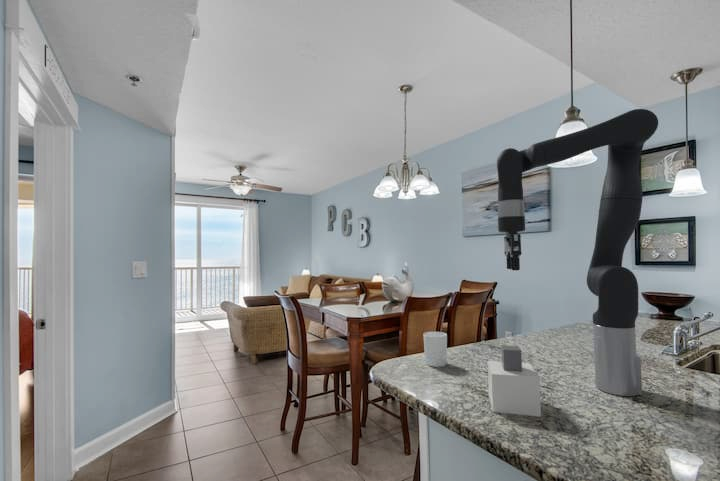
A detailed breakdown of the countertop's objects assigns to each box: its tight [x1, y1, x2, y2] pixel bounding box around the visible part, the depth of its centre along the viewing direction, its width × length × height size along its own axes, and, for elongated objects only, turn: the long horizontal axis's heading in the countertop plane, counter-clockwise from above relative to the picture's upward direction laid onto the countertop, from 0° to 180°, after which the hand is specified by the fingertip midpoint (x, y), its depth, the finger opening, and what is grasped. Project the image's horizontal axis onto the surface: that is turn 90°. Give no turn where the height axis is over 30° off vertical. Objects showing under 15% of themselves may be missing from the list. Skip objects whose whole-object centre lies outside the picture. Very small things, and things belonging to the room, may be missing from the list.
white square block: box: [487, 344, 542, 418], centre depth 84 cm, size 10×10×14 cm
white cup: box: [422, 331, 448, 368], centre depth 116 cm, size 8×8×10 cm
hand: (513, 269), depth 103 cm, fingers open, 8 cm apart
